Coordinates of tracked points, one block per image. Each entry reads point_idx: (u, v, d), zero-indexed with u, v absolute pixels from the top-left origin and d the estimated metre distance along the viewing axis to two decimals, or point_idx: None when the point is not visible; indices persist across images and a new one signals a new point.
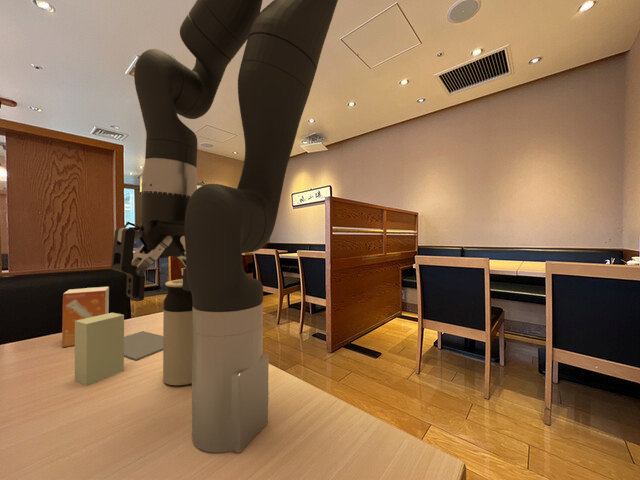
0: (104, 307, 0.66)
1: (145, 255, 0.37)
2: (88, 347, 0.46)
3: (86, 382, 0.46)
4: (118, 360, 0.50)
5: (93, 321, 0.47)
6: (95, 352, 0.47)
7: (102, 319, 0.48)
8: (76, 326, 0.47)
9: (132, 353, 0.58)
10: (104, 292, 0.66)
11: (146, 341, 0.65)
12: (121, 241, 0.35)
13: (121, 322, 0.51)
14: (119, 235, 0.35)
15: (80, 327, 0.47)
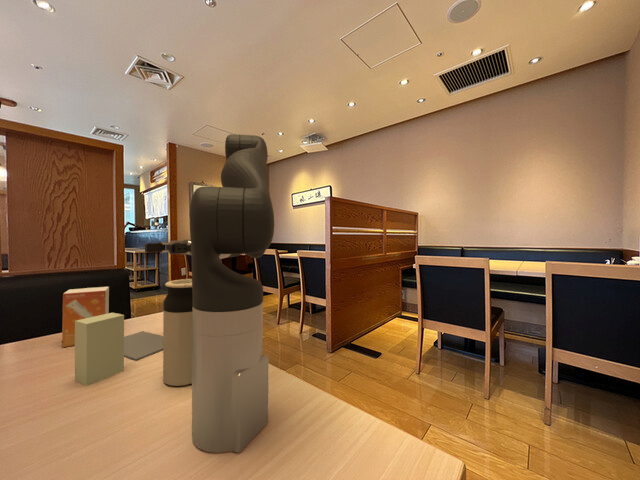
0: (104, 307, 0.66)
1: (172, 244, 0.67)
2: (88, 347, 0.46)
3: (86, 382, 0.46)
4: (118, 360, 0.50)
5: (93, 321, 0.47)
6: (95, 352, 0.47)
7: (102, 319, 0.48)
8: (76, 326, 0.47)
9: (132, 353, 0.58)
10: (104, 292, 0.66)
11: (146, 341, 0.65)
12: None
13: (121, 322, 0.51)
14: None
15: (80, 327, 0.47)
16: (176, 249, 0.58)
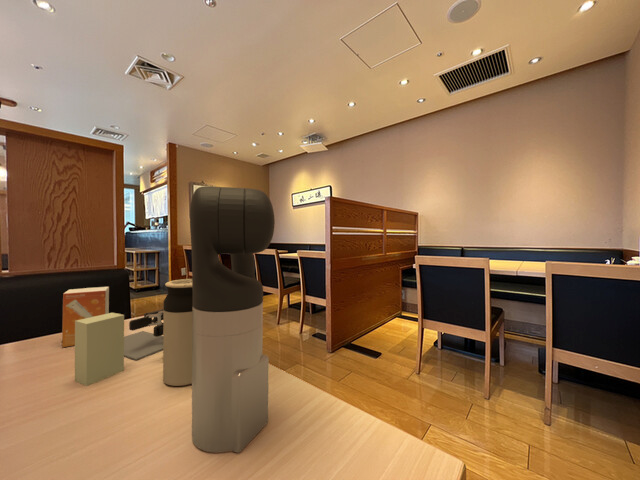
0: (104, 307, 0.66)
1: None
2: (88, 347, 0.46)
3: (86, 382, 0.46)
4: (118, 360, 0.50)
5: (93, 321, 0.47)
6: (95, 352, 0.47)
7: (102, 319, 0.48)
8: (76, 326, 0.47)
9: (132, 353, 0.58)
10: (104, 292, 0.66)
11: (146, 341, 0.65)
12: None
13: (121, 322, 0.51)
14: None
15: (80, 327, 0.47)
16: (161, 331, 0.55)
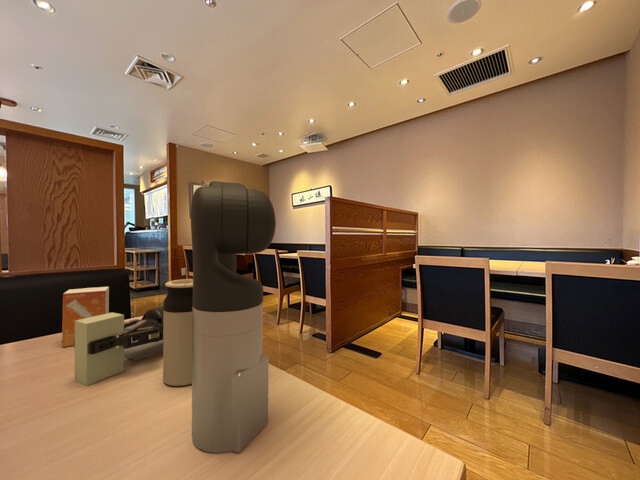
0: (104, 307, 0.66)
1: None
2: None
3: (86, 382, 0.46)
4: (118, 360, 0.50)
5: (93, 321, 0.47)
6: None
7: (102, 319, 0.48)
8: (76, 326, 0.47)
9: (132, 353, 0.58)
10: (104, 292, 0.66)
11: None
12: None
13: (121, 322, 0.51)
14: None
15: (80, 327, 0.47)
16: (97, 348, 0.46)
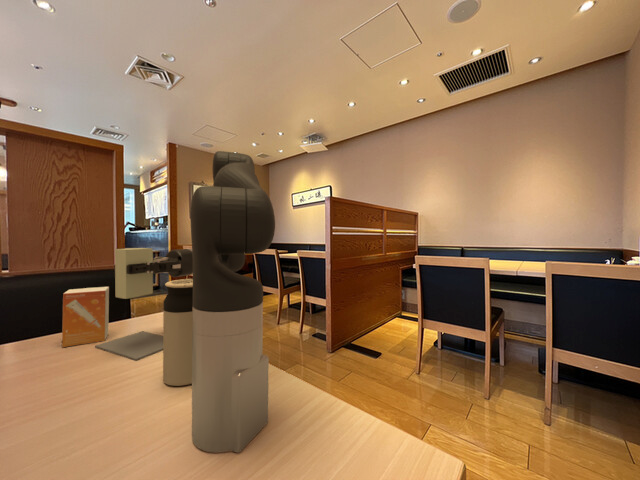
0: (104, 307, 0.66)
1: None
2: None
3: (126, 296, 0.58)
4: (148, 284, 0.62)
5: (130, 249, 0.59)
6: (132, 274, 0.59)
7: (136, 249, 0.60)
8: (116, 253, 0.59)
9: (132, 353, 0.58)
10: (104, 292, 0.66)
11: (146, 341, 0.65)
12: None
13: (150, 254, 0.63)
14: None
15: (120, 253, 0.58)
16: (134, 269, 0.58)
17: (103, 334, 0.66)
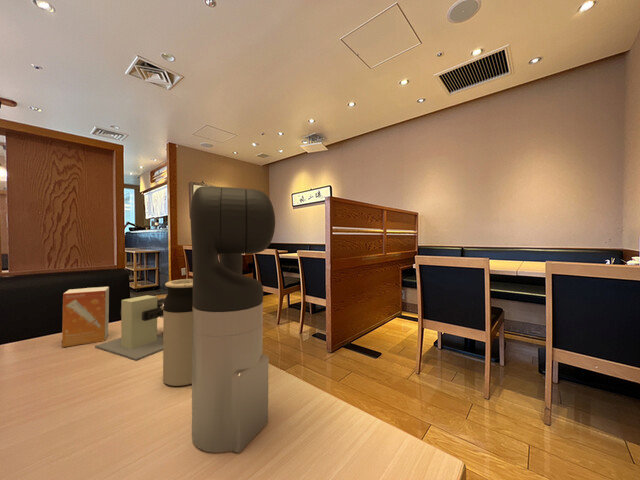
0: (104, 307, 0.66)
1: None
2: (132, 320, 0.60)
3: (131, 346, 0.60)
4: (153, 332, 0.65)
5: (135, 300, 0.61)
6: (137, 324, 0.61)
7: (142, 299, 0.63)
8: (122, 304, 0.61)
9: (132, 353, 0.58)
10: (104, 292, 0.66)
11: None
12: None
13: (155, 302, 0.65)
14: None
15: (126, 304, 0.61)
16: (149, 316, 0.60)
17: (103, 334, 0.66)
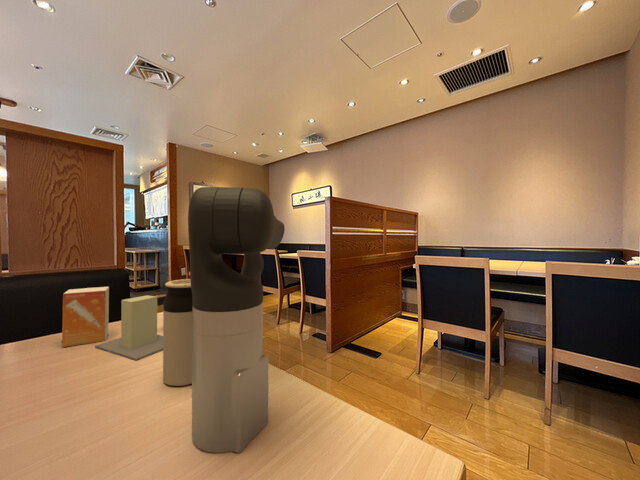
0: (104, 307, 0.66)
1: None
2: (132, 320, 0.60)
3: (131, 346, 0.60)
4: (153, 332, 0.65)
5: (135, 300, 0.61)
6: (137, 324, 0.61)
7: (142, 299, 0.63)
8: (122, 304, 0.61)
9: (132, 353, 0.58)
10: (104, 292, 0.66)
11: None
12: None
13: (155, 302, 0.65)
14: None
15: (126, 304, 0.61)
16: None
17: (103, 334, 0.66)
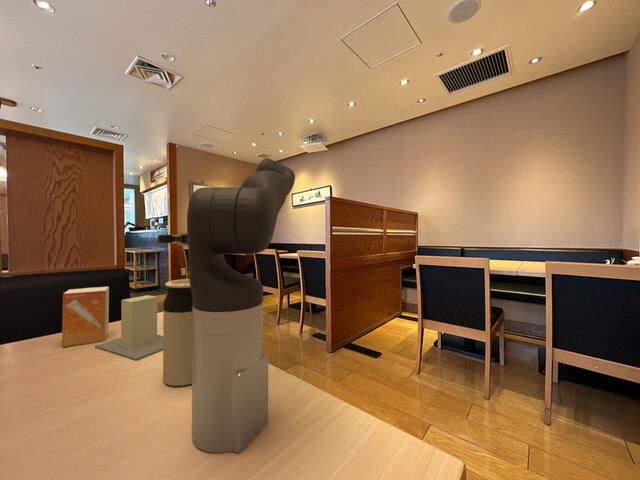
0: (104, 307, 0.66)
1: None
2: (132, 320, 0.60)
3: (131, 346, 0.60)
4: (153, 332, 0.65)
5: (135, 300, 0.61)
6: (137, 324, 0.61)
7: (142, 299, 0.63)
8: (122, 304, 0.61)
9: (132, 353, 0.58)
10: (104, 292, 0.66)
11: None
12: None
13: (155, 302, 0.65)
14: None
15: (126, 304, 0.61)
16: (185, 239, 0.67)
17: (103, 334, 0.66)
